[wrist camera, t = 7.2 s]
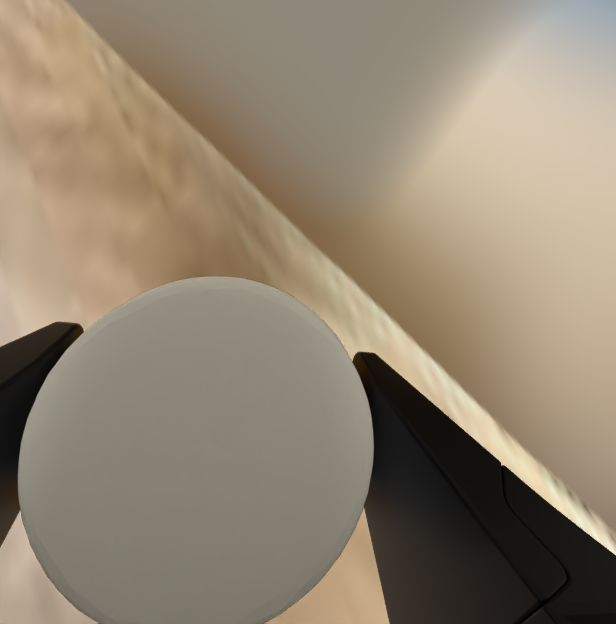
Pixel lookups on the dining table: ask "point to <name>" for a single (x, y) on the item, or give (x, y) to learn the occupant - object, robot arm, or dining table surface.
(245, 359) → the supplement bottle
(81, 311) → the dining table surface
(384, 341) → the dining table surface
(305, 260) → the dining table surface
